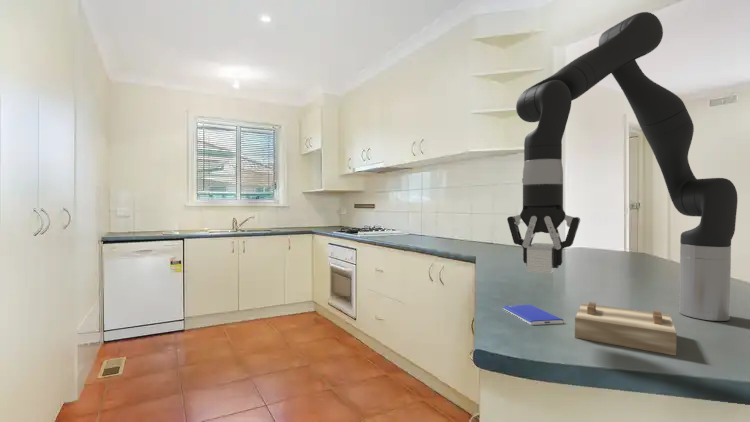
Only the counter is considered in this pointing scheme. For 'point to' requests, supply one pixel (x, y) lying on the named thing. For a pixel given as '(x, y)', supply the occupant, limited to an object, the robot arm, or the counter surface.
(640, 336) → the drive stand
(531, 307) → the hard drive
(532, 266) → the panel
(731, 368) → the counter surface
